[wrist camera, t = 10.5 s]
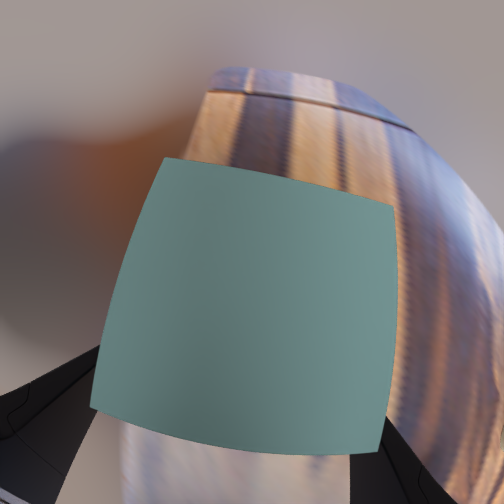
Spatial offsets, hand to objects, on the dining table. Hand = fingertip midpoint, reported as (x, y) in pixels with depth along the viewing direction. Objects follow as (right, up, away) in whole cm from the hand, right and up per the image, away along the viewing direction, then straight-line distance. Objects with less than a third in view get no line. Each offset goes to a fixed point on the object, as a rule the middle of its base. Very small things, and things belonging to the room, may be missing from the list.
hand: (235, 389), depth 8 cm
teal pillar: (0, -1, +8) cm, 8 cm away
